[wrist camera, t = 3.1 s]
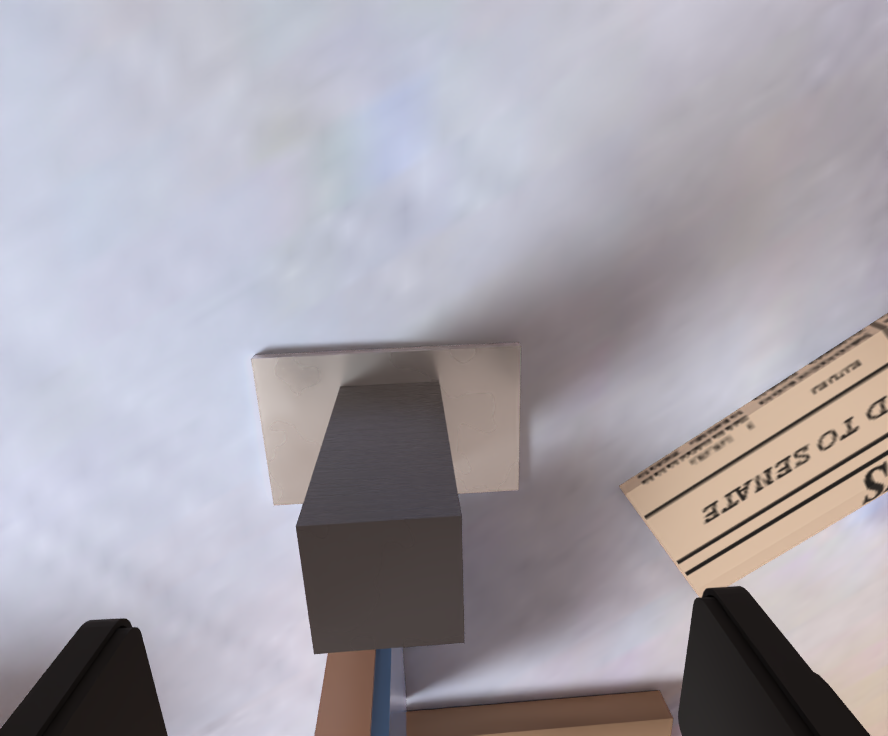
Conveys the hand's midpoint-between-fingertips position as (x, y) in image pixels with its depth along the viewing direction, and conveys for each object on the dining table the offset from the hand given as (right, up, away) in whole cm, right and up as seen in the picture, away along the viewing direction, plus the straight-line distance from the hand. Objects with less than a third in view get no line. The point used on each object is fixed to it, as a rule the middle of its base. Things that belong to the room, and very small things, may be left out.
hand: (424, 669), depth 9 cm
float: (-1, +3, +8) cm, 9 cm away
